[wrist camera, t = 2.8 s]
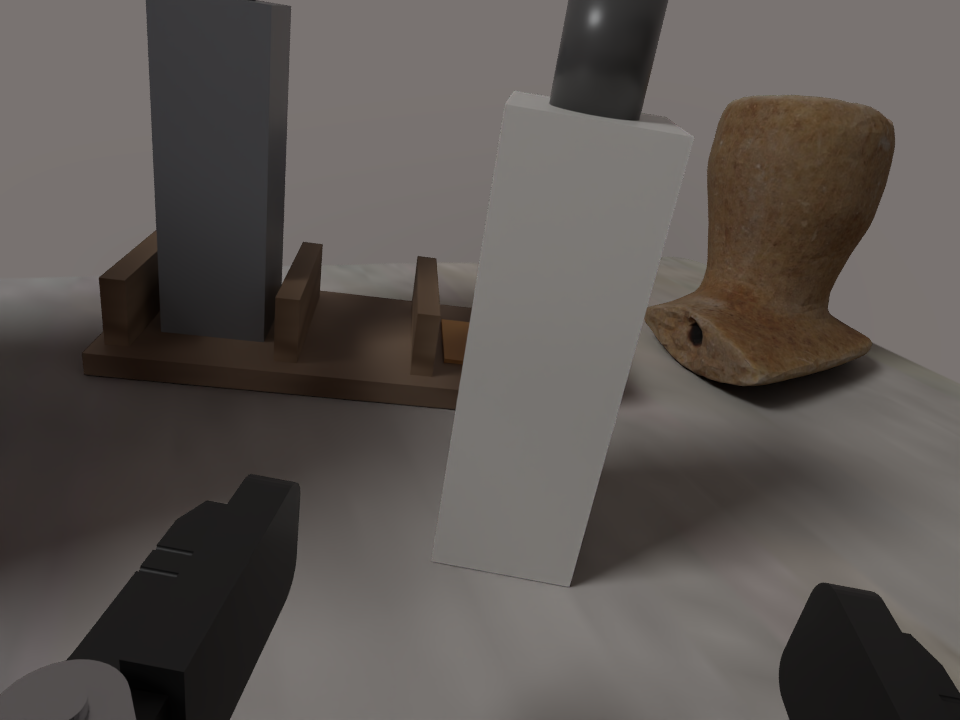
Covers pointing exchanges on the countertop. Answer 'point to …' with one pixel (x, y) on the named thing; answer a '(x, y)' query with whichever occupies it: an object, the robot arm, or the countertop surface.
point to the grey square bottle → (219, 162)
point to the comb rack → (290, 338)
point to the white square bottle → (560, 297)
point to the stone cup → (779, 239)
